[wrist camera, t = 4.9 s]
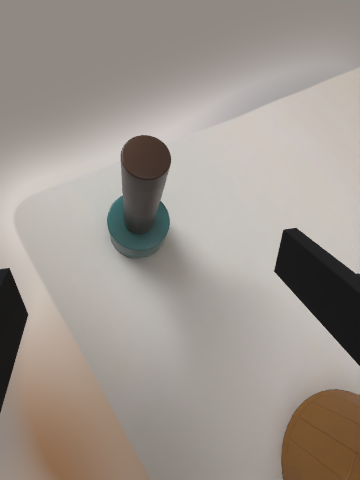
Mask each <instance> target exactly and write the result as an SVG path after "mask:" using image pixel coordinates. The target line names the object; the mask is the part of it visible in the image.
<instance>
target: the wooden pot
mask: <svg viewBox="0 0 360 480" xmlns="http://www.w3.org/2000/svg"><path fill="white" fill-rule="evenodd" d="M282 474H283V479H284V480H360V395H357V394H354V393H351V392H348V391H344V390H337V389H336V390H326V391H322V392H319V393H317V394H315V395H313V396H311V397H310V398H308V399H307V400H306V401H305V402H303V403H302V404H301V406H300V407H299V408H298V409H297V410H296V412H295V413H294V415H293V416H292V418H291V420H290V422H289V424H288V427H287V430H286V432H285V436H284V440H283V446H282Z"/></svg>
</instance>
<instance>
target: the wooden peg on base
mask: <svg viewBox="0 0 360 480" xmlns="http://www.w3.org/2000/svg"><path fill="white" fill-rule="evenodd" d="M170 164H171V155H170V152H169V150H168V148H167V147H166V145H165V144H164V143H163V142H161V141H160V140H159V139H157V138H155V137H152V136H147V135H141V136H136V137H134V138H132V139H130V140H129V141H128V142H127V143H126V144H125V145H124V147H123V148H122V151H121V171H122V191H123V196H121V197H120V198H118V199H117V200H116V201H115V202H114V203H113V205H112V206H111V208H110V210H109V213H108V217H107V224H108V229H109V233H110V237H111V241H112V243H113V245H114V246H115V248H116V249H117V250H118V251H119V252H120V253H122V254H123V255H125V256H127V257H130V258H145V257H148V256H150V255H152V254H154V253H155V252H156V251H157V250H158V249H159V248H160V246H161V245H162V243H163V241H164V239H165V237H166V235H167V232H168V230H169V225H170V220H169V214H168V211H167V209H166V207H165V206H164V204H163V203H162V202H161V201H160V200H161V196H162V192H163V189H164V185H165V182H166V178H167V175H168V171H169V168H170Z"/></svg>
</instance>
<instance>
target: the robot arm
mask: <svg viewBox="0 0 360 480" xmlns="http://www.w3.org/2000/svg"><path fill="white" fill-rule="evenodd" d="M274 272H275V273H276V274H277V275H278V276H279V277H280V278H281V279H282V281H283V282H284V283H285V284H286V285H287V286H288V287H289V288H290V289H291V290H292V292H293V293H294V294H295V295H296V296H297V297H298V298H299V299H300V300H301V302H302V303H303V304H304V305H305V306H306V307H307V308H308V309H309V310H310V312H311V313H312V314H313V315H314V316H315V317H316V318H317V319H318V320H319V321H320V323H321V324H322V325H323V326H324V327H325V328H326V329H327V330H328V331H329V333H330V334H331V335H332V336H333V337H334V338H335V339H336V340H337V341H338V342H339V344H340V345H341V346H342V347H343V348H344V349H345V350H346V351H347V352H348V354H349V355H350V356H351V357H352V358H353V359H354V360H355V361H356V362H357V364H358V365H359V366H360V274H355V273H354V272H353V271H352V270H350V269H349V268H348V267H346V266H345V265H344V264H342V263H341V262H340V261H339V260H337V259H336V258H335V257H333V256H332V255H331V254H329V253H328V252H327V251H325V250H324V249H323V248H322V247H320V246H319V245H318V244H316V243H315V242H314V241H312V240H311V239H310V238H309V237H307V236H306V235H305V234H303V233H302V232H301V231H299V230H298V229H297V228H292V229H285V230H283V234H282V239H281V243H280V248H279V252H278V257H277V261H276V266H275V270H274ZM27 317H28V313H27V310H26V308H25V305H24V303H23V301H22V298H21V295H20V293H19V291H18V288H17V286H16V283H15V281H14V278H13V276H12V273H11V271H10V268H7V269H0V412H1V408H2V405H3V401H4V398H5V394H6V391H7V387H8V384H9V380H10V377H11V373H12V370H13V366H14V363H15V359H16V356H17V352H18V349H19V345H20V341H21V338H22V334H23V331H24V327H25V324H26V320H27Z"/></svg>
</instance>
